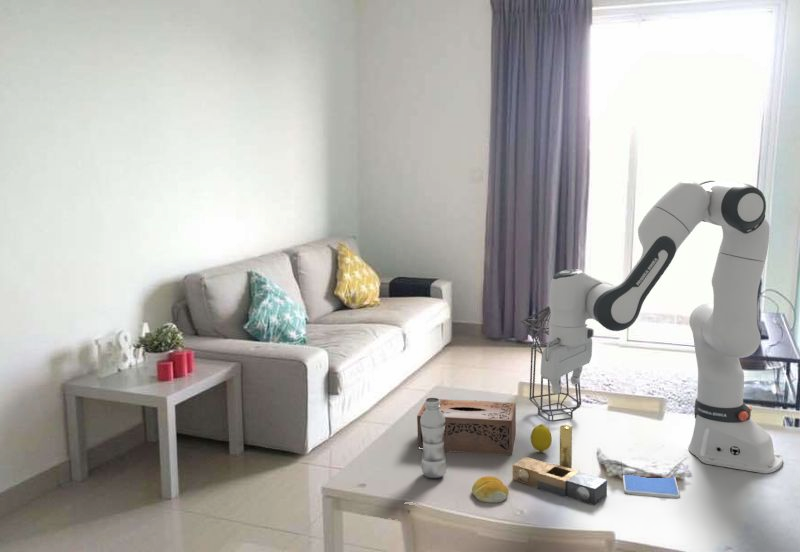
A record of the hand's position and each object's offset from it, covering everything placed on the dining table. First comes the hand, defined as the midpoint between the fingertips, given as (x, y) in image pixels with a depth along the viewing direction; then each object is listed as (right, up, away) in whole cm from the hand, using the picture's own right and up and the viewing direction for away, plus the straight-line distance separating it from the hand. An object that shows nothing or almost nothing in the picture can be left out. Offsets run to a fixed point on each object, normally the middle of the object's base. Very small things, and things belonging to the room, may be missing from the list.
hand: (566, 388), depth 184 cm
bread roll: (-20, -24, -10) cm, 33 cm away
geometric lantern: (+5, -15, +40) cm, 43 cm away
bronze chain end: (-6, -23, -5) cm, 24 cm away
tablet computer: (+20, -22, -4) cm, 30 cm away
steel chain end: (-1, -23, -10) cm, 25 cm away
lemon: (-4, -20, +14) cm, 24 cm away
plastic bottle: (-33, -23, +1) cm, 40 cm away
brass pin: (+1, -21, +3) cm, 21 cm away
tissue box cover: (-23, -19, +22) cm, 37 cm away
